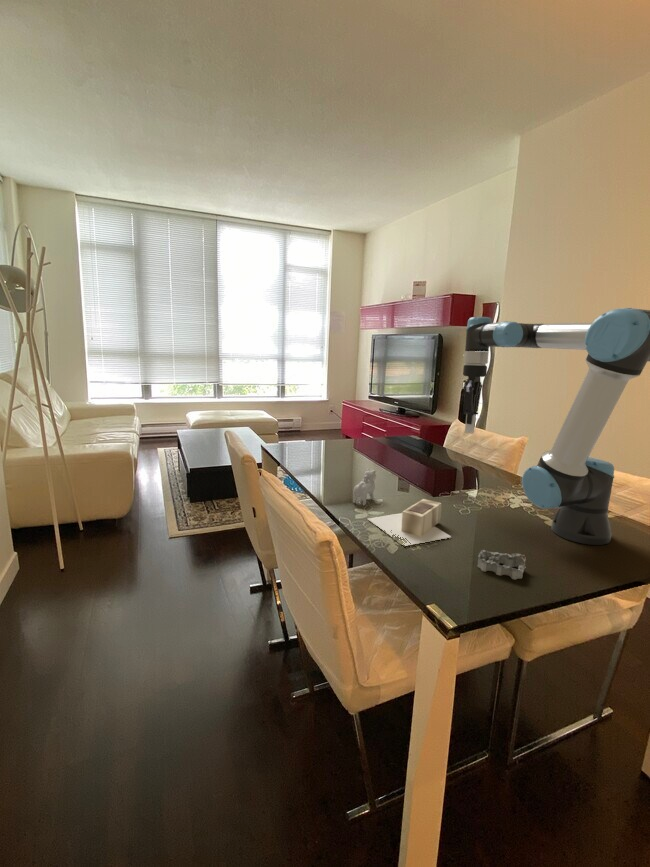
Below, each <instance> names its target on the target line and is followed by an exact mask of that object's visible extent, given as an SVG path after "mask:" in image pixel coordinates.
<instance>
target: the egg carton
mask: <svg viewBox="0 0 650 867" xmlns="http://www.w3.org/2000/svg"><path fill="white" fill-rule="evenodd" d="M477 557H478V559H477V568H479V569H480V570H481V571H482V572H484V573H485V572H487V571H490V572H493V573H495V575H498V576H503V575H504V576H508V577H510V578H511V579H512V580H514V581H515V580H517V579H520V580H521V579H523V574H524V571H525V569H526V568H527V567H526V559H527V557H526V555H525V554H522V553H517V552H516V553H514V552H512V553H511V554H509V553H507V552H506V553H500V552H498V551H496V552H495V551H488V550H485V549H481V550H480V552H479V553H478V556H477ZM500 564H503V565H500Z"/></svg>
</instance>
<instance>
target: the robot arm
mask: <svg viewBox="0 0 650 867" xmlns="http://www.w3.org/2000/svg"><path fill="white" fill-rule="evenodd" d="M465 330H466V332H465V333H466V335H465V346H464V347H465V350H464V354H462V356H463V358H464V360H463V362H464V363H465V364H463V370H462V371H463V372H462V375H463V377H467V381H466V383H465V385H464V386H463V391H464V405H463V406H464V408H463V409H464V412H463V414H464V415H465V425H464V434H465V433H466V434H471V435H472V434H474V433H475V424H476V422H475V421H476V415H479V405H480V400H481V394H482V388H483V384H482V381H481V378H485V377H486V376H487V370H488V366H487V364H488V362H489V352H490V350H489V349H490V347H491V348H492V347H493V348H495V347H497V348H526V349H529V348H530V349H557V350H581V351H586V352H587V353H588V354H587V356H586V358H585V362H586V364H587V367H588V370H587V372H586V375H585V377H584V379H583V381H582V383H581V385H580V387H579V390H578V391H577V393H576V396H575V398H574V400H573V402H572V405H571V407H570V409H569V411H568V413H567V415H566V417H565V420H564V422H563V423H562V426H561V428H560V430H559V432H558V434H557V436H556V439H555V441H554V443H553V445H552V447H551V449H550V450H547V451H546V450H545V451H544V452H543V453H542V454H541V456H540V459H539V460H538V462H537V465H533V466H530V467H528V468H527V469H526V470H525V471H524V472H523V474H522V477H521V485H522V489H523V491H524V494H525V496H526V498H527V499H528V500H529V502H531V504H532V505H534V506H536V507H538V508H540V509H557V508H558V510H557V511H556V514H555V515H554V517H553V518H552V521H551V531H552V532H553V533H554V534H555V535H557V536H559V537H560V538H563V539H565V540H568V541H571V542H575V543H579V544H583V545H589V546H590V545H592V546H600V545H601V546H602V545H606V544H607V545H608V544H609V543H610V542H611V540H612V529H611V524H610V521H609V520H610V519H609V516H608V512H609V507H610V500H611V495H612V488H613V482H614V479H615V466H614V464H612V462H609V461H606V460H603V459H599V458H596V457H595V458H594V457H590V455H591V453H592V452H593V449H594V448H595V445H596V443H597V441H598V439H599V438H600V435H601V434H602V432H603V430H604V428H605V426H606V424H607V422H608V421H609V419H610V417H611V415H612V413H613V411H614V409H615V407H616V406H617V404H618V401H619V399H620V398H621V396H622V394H623V392H624V391H625V388H626V387H627V384H628V382H629V381H630V380H632V379H635V378H637V377H640V376H641V374H642V372H643V370H644V369H645V366H646V365H647V363H648V362H650V309H640V308H634V307H633V308H632V307H623V308H615V309H611V310H608V311H606V312H603V313H602V314H601V315H599V316H598V317H596V318H595V319H594V320H593V322H563V323H561V322H560V323H559V322H558V323H556V322H555V323H520V322H516V321H508V320H505V321H501V322H492V318H491V317H488V316H475V317H473V316H472V317H469V319H468V320H467V326H466V329H465Z"/></svg>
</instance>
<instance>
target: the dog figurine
mask: <svg viewBox="0 0 650 867" xmlns="http://www.w3.org/2000/svg"><path fill="white" fill-rule="evenodd" d="M376 472H377V471H376V470H375V469H372V470H370V468H366V469H365V472H364V473H363V478H362V480H361V481H360V482H358V484H356V485H355V486H354V488H353V495H352V499H353V501H352V502H356V503H357V498H359V499H360V500H362V504H364V505H365V504H366V505H367V495H369V498H370V500H371V499H374V500H375V498H374V497H375V496H374V492H375V489H376V484H375V480H376V478H377V473H376ZM364 505H363V506H364Z"/></svg>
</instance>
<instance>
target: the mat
mask: <svg viewBox="0 0 650 867" xmlns="http://www.w3.org/2000/svg"><path fill="white" fill-rule="evenodd" d="M367 519H368V520H369V521H371V522H372V523H373V524H375V525H376V526H378V527H379V528H380V529H382V530H383V531H384V530H385V531H386V533H387V534H389V535H390V536H391V537H392V535H393V534H394V535H395V534H396V535H395V536H396V537H397V536H398V535H399V536H398V537H399V538H400V537H401V539H403V538H404V539H405V538H406V539H407V540H408V541H409V542H410V543H411V544H410V543H409V542H408V541H407V540H406V539H405V540H406V541H407V543H405V542H404V541H403V540H402V541H403V542H404V543H405V544H404V543H403V544H404V545H405V546H408V545H413V544H419V543H425V542H430V541H435V540H440V541H442V540H441V539H445V540H448V539H447V538H449V539H452V535H449V534H448V533H446V532H445V531H443V530H441V529H440V528H438V527H437V526H436V525H435V526H434V527H432V528H431V529H430V530H428V531H427V532H426V533H425V534H423V535H422V536H421V537H420V536H416V535H413V534H410V533H407V532H403V531H401V528H402V512H401V513H399V512H398V513H394V514H387V515H382V516H376V517H375V516H374V517H371V518H370V517H369V518H367ZM368 520H367V521H368ZM369 521H368V522H369ZM372 523H371V524H372ZM373 524H372V525H373ZM375 525H374V526H375ZM376 526H375V527H376ZM379 528H378V529H379ZM380 529H379V530H380ZM391 530H392V531H391ZM383 531H382V532H383ZM390 531H391V532H392V533H391V532H390ZM387 534H386V535H387ZM395 536H394V537H395ZM391 537H390V538H391ZM402 537H403V538H402ZM399 540H400V539H399ZM435 542H436V541H435ZM430 543H431V542H430ZM403 544H402V545H403ZM425 544H426V543H425Z"/></svg>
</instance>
